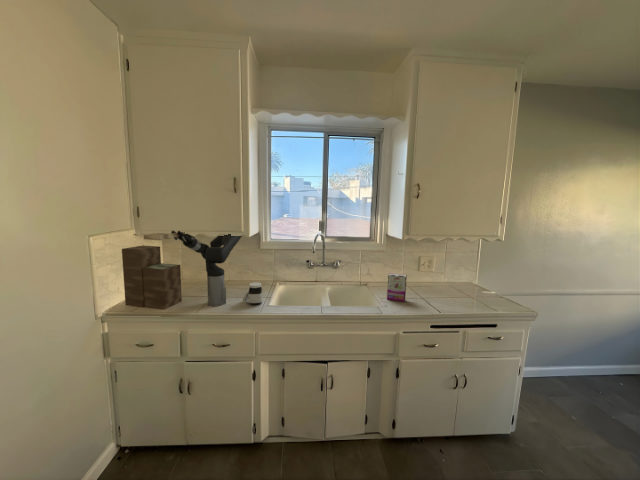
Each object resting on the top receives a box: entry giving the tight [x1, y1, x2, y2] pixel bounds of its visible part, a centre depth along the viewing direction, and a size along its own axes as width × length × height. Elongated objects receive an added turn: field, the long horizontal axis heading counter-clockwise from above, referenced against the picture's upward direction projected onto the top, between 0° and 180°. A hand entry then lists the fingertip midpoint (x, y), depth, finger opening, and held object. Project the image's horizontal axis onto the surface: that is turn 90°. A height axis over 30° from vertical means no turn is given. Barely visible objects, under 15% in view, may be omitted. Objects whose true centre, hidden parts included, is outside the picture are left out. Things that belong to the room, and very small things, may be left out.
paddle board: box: [143, 231, 185, 241], centre depth 153 cm, size 24×10×2 cm, turn 169°
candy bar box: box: [386, 273, 408, 303], centre depth 169 cm, size 11×5×16 cm, turn 68°
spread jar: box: [242, 281, 263, 306], centre depth 157 cm, size 12×11×12 cm
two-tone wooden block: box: [121, 244, 183, 310], centre depth 150 cm, size 14×25×32 cm, turn 78°
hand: (175, 232), depth 157 cm, fingers closed on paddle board, 3 cm apart
